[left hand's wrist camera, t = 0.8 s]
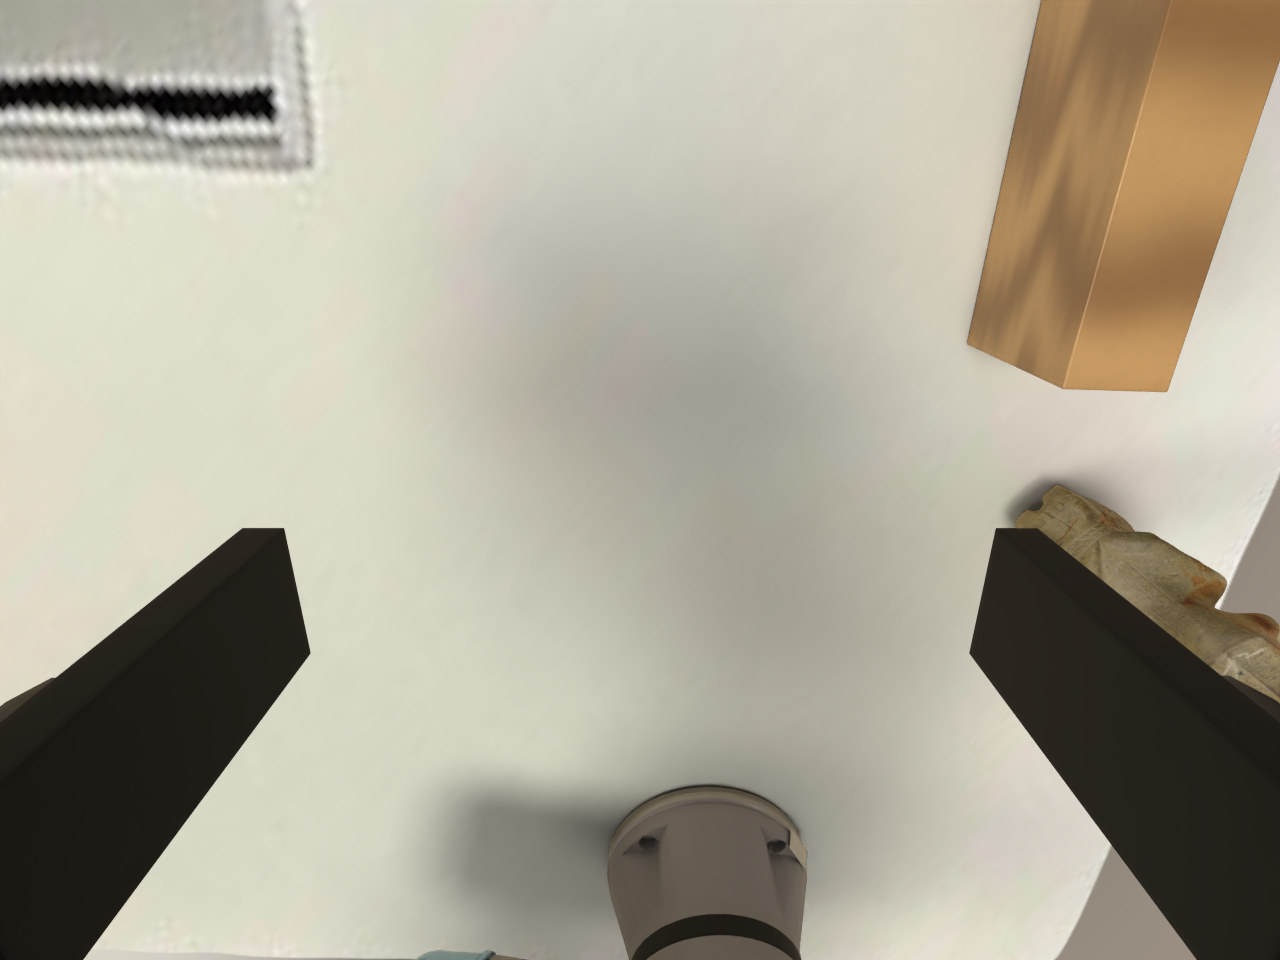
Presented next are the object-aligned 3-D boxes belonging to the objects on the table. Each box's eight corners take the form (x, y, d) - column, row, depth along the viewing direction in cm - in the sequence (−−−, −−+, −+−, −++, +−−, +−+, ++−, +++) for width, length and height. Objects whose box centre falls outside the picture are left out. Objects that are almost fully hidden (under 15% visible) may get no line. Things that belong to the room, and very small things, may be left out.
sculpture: (1053, 589, 44) (1241, 769, 30) (985, 521, 42) (1151, 681, 29) (1133, 529, 42) (1369, 691, 29) (1065, 456, 41) (1283, 592, 27)
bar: (1047, 347, 38) (1167, 392, 30) (966, 344, 38) (1062, 389, 30) (1217, -295, 28) (1476, -516, 19) (1105, -300, 28) (1315, -523, 19)
